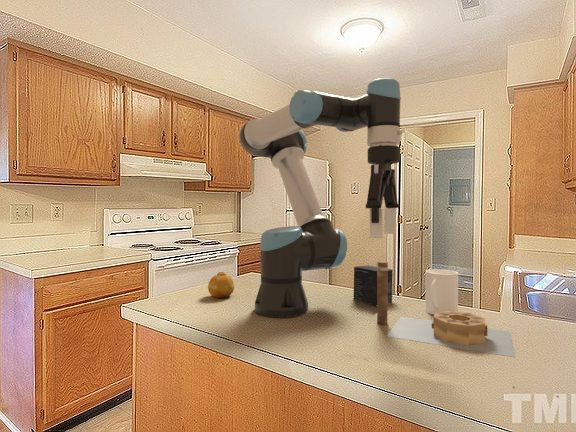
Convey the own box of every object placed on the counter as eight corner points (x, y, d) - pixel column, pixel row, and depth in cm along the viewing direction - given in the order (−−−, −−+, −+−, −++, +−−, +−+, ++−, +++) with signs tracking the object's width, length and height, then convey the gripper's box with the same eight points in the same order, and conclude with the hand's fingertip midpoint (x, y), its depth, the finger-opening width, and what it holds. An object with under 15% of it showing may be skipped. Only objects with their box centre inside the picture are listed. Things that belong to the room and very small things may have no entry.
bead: (429, 339, 79) (430, 320, 79) (435, 325, 88) (435, 308, 88) (487, 348, 74) (487, 328, 74) (487, 332, 83) (487, 315, 83)
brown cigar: (375, 328, 90) (376, 262, 89) (378, 325, 92) (378, 261, 91) (386, 330, 88) (386, 263, 88) (388, 327, 91) (389, 261, 90)
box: (393, 303, 112) (393, 269, 112) (378, 307, 109) (378, 271, 108) (367, 296, 121) (367, 264, 121) (352, 299, 117) (352, 266, 117)
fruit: (224, 284, 128) (216, 266, 124) (242, 289, 123) (234, 271, 119) (208, 301, 123) (199, 282, 119) (226, 307, 118) (217, 288, 114)
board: (386, 341, 81) (386, 336, 81) (401, 321, 95) (401, 316, 95) (514, 363, 70) (515, 357, 70) (509, 336, 84) (510, 331, 84)
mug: (444, 326, 91) (445, 277, 91) (412, 318, 98) (412, 273, 97) (464, 316, 99) (464, 271, 99) (433, 309, 106) (433, 267, 105)
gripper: (387, 136, 76) (387, 240, 76) (409, 152, 98) (409, 232, 98) (351, 140, 79) (352, 239, 80) (380, 154, 101) (380, 231, 102)
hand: (383, 235), depth 89 cm, fingers open, 13 cm apart
